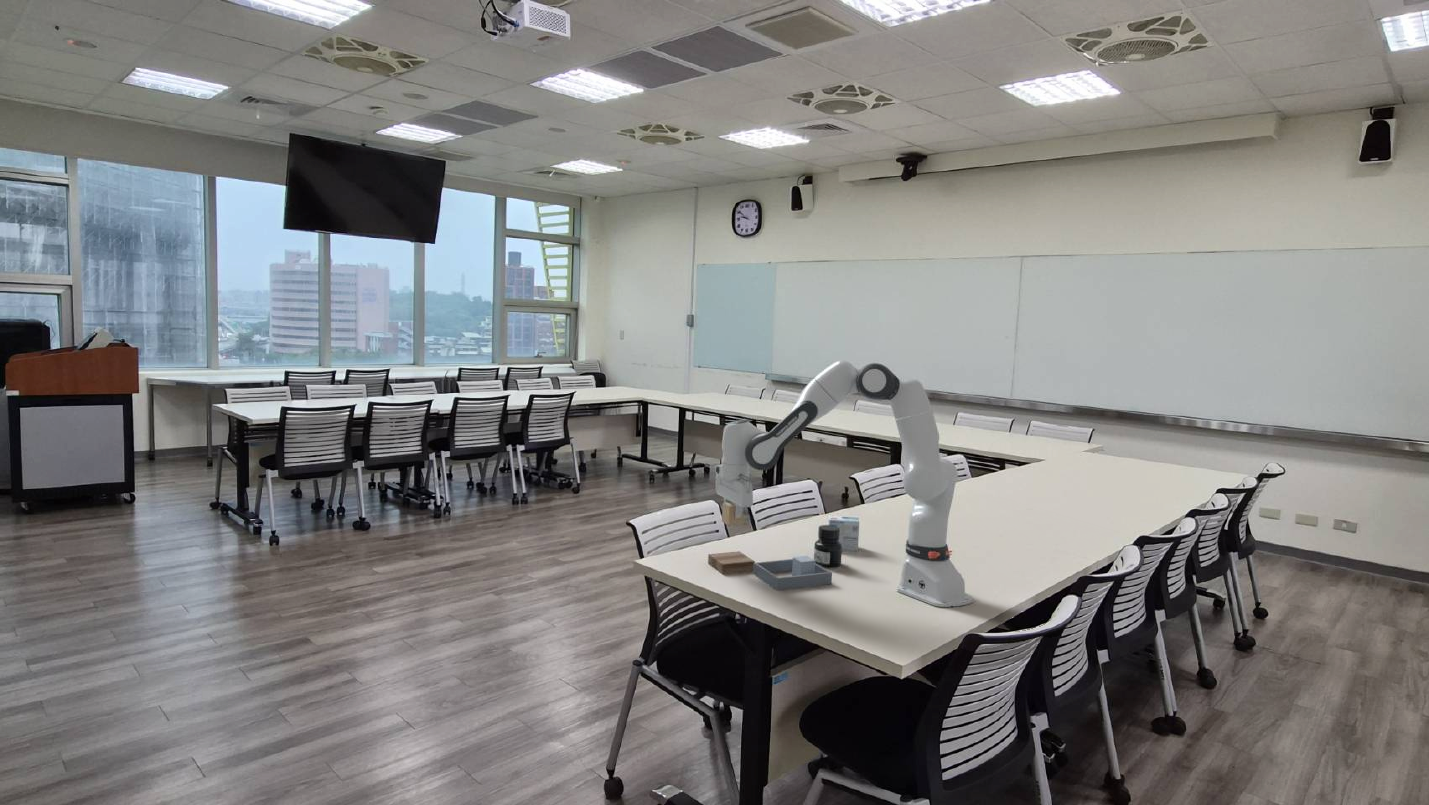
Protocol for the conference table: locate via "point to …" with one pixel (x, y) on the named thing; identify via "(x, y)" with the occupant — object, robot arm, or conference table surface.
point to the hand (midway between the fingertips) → (732, 514)
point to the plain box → (803, 566)
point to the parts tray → (769, 567)
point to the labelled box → (731, 514)
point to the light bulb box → (846, 531)
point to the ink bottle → (828, 546)
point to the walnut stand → (730, 562)
